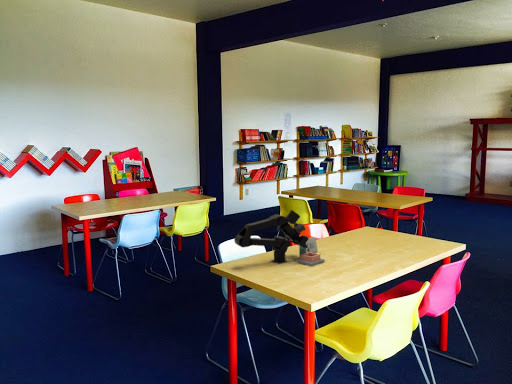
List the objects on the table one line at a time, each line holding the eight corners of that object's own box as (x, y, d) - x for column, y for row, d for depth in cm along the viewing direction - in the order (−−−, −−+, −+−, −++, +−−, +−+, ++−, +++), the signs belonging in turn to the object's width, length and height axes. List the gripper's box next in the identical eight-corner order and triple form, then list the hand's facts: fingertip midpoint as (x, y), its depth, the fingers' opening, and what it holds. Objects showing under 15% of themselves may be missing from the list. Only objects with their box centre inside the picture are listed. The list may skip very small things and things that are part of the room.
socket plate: (311, 266, 245) (311, 258, 245) (296, 262, 253) (296, 254, 253) (324, 261, 254) (324, 254, 253) (309, 258, 261) (309, 250, 261)
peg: (303, 259, 260) (303, 239, 258) (297, 257, 263) (298, 238, 261) (307, 257, 263) (307, 238, 261) (302, 256, 265) (302, 237, 264)
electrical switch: (305, 254, 270) (304, 239, 270) (300, 253, 275) (299, 238, 274) (317, 252, 274) (317, 237, 274) (313, 251, 279) (312, 236, 278)
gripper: (305, 222, 249) (321, 239, 256) (289, 217, 266) (304, 233, 272) (293, 237, 247) (310, 254, 253) (277, 231, 264) (293, 247, 270)
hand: (304, 246), depth 262 cm, fingers open, 4 cm apart
